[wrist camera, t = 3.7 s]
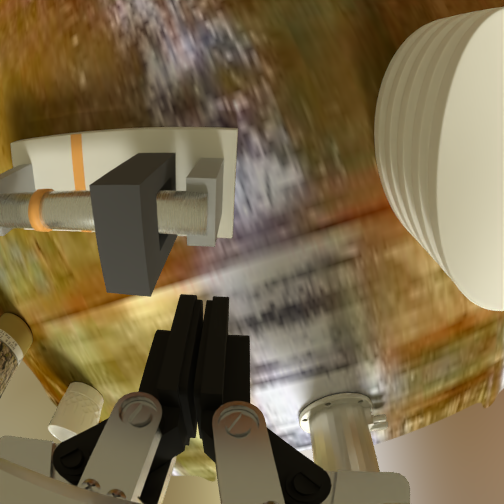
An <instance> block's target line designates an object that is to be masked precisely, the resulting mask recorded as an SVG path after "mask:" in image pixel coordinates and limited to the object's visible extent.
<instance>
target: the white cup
mask: <svg viewBox="0 0 504 504" xmlns="http://www.w3.org/2000/svg"><path fill="white" fill-rule="evenodd" d="M103 402H104V400H103V397H102V395H101V394H100V393H99V392H98V391H97V390H96V389H94V388H93V387H91V386H89V385H87V384H84V383H82V382H73V383H70V385H69V387H68V389H67V391H66V393H65V395H64V396H63V398H62V399H61V401H60V403H59V405H58V407H57V409H56V411H55V413H54V415H53V417H52V420H51V421H50V423H49V426H48V430H49V431H50V433H51V434H52V435H53V436H55V437H56V438H57V439H59V440H60V441H62V442H63V441H65V440H67V439H69V438H71V437H73V436H75V435H77V434H79V433H81V432H83V431H85V430H87V429H89V428H91V427H93V426H95V425H97V424H98V422H99V418H100V412H101V409H102V405H103Z"/></svg>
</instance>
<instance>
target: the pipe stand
mask: <svg viewBox="0 0 504 504" xmlns="http://www.w3.org/2000/svg"><path fill="white" fill-rule="evenodd" d="M73 134H81V137H82V153H83V166H84V177H85V187H86V190H90V187H89V185H90V184H92V183H93V182H95V181H96V180H98V179H99V178H101V177H102V176H104V175H105V174H106V173H108V172H109V171H111V170H113V169H114V168H116V167H117V166H119V165H120V164H122V163H123V162H125V161H126V160H128V159H130V158H131V157H133V156H134V155H136V154H138V153H176V191H186V192H199V193H208V235H207V236H201V235H181V234H177V236H187V245H192V246H211V247H215V244H216V239H217V238H232V236H233V220H234V199H235V178H236V159H237V140H238V128H222V127H146V128H124V129H109V130H96V131H85V132H75V133H66V134H58V135H50V136H43V137H36V138H30V139H23V140H18V141H15V142H13V143H11V153H12V162H13V168H12V169H10V170H8V171H6V172H4V173H2V174H0V194H1V193H18V192H35V191H36V190H38V189H53V190H54V191H69V190H75V183H74V174H73V163H72V151H71V136H70V135H73ZM11 229H13V228H0V236H4V235H5V234H6V233H8V232H9V231H10V230H11ZM24 229H29V230H34V229H32V228H24ZM53 230H58V231H81V230H62V229H53ZM92 232H95V231H92Z"/></svg>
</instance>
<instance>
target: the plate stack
mask: <svg viewBox="0 0 504 504" xmlns="http://www.w3.org/2000/svg"><path fill="white" fill-rule="evenodd" d="M374 143H375V154H376V162H377V167H378V172H379V176H380V180H381V183H382V186H383V189H384V192H385V195H386V197H387V199H388V202H389V204H390V206H391V208H392V210H393V211H394V213H395V215H396V216H397V218H398V219H399V221H400V222H401V223H402V225H403V226H404V227H405V228H406V229H407V230H408V232H409V233H410V234H411V235H412V236H413V237H414V238H415V239H416V240H417V241H418V242H419V243H420V244H421V246H422V247H423V248H424V249H425V250H426V251H427V252H428V253H429V254H430V255H431V257H432V258H433V259H434V260H435V261H436V262H437V263H438V264H439V266H440V267H441V268H442V269H443V270H444V272H445V273H446V274H447V275H448V276H449V277H450V278H451V279H452V281H453V282H454V283H455V285H456V286H457V287H458V288H459V290H460V291H461V292H462V293H463V294H464V295H465V296H466V297H467V298H468V299H469V300H470V301H471V302H473V303H474V304H476V305H478V306H480V307H482V308H485V309H489V310H494V311H504V7H499V8H491V9H485V10H481V11H474V12H469V13H465V14H460V15H455V16H451V17H447V18H442V19H438V20H435V21H432V22H430V23H428V24H426V25H424V26H422V27H420V28H419V29H418V30H416V31H415V32H414V33H412V34H411V35H410V36H409V37H408V38H407V39H406V40H405V41H404V42H403V43H402V45H401V46H400V47H399V49H398V50H397V51H396V53H395V54H394V56H393V58H392V60H391V61H390V63H389V65H388V68H387V70H386V72H385V75H384V77H383V80H382V83H381V87H380V90H379V94H378V99H377V105H376V112H375V123H374Z"/></svg>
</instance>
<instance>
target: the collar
mask: <svg viewBox="0 0 504 504" xmlns="http://www.w3.org/2000/svg"><path fill="white" fill-rule="evenodd" d="M89 187H90V196H91V204H92V212H93V219H94V226H95V232H96V239H97V245H98V250H99V256H100V261H101V266H102V271H103V276H104V281H105V286H106V290H107V292H109V293H119V294H129V295H139V296H151V294H152V292H153V290H154V287H155V285H156V283H157V280H158V278H159V276H160V273H161V271H162V269H163V266H164V264H165V262H166V260H167V257H168V255H169V253H170V251H171V249H172V246H173V244H174V242H175V240H176V238H177V234H160V233H159V232H158V217H157V199H156V194H157V192H158V191H159V190H168V191H176V153H138V154H136V155H134V156H133V157H131V158H130V159H128V160H126V161H125V162H123V163H122V164H120V165H119V166H117V167H116V168H114V169H113V170H111V171H109V172H108V173H106V174H105V175H104V176H102V177H101V178H99V179H98V180H96V181H95V182H93V183H92V184H90V185H89Z"/></svg>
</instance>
